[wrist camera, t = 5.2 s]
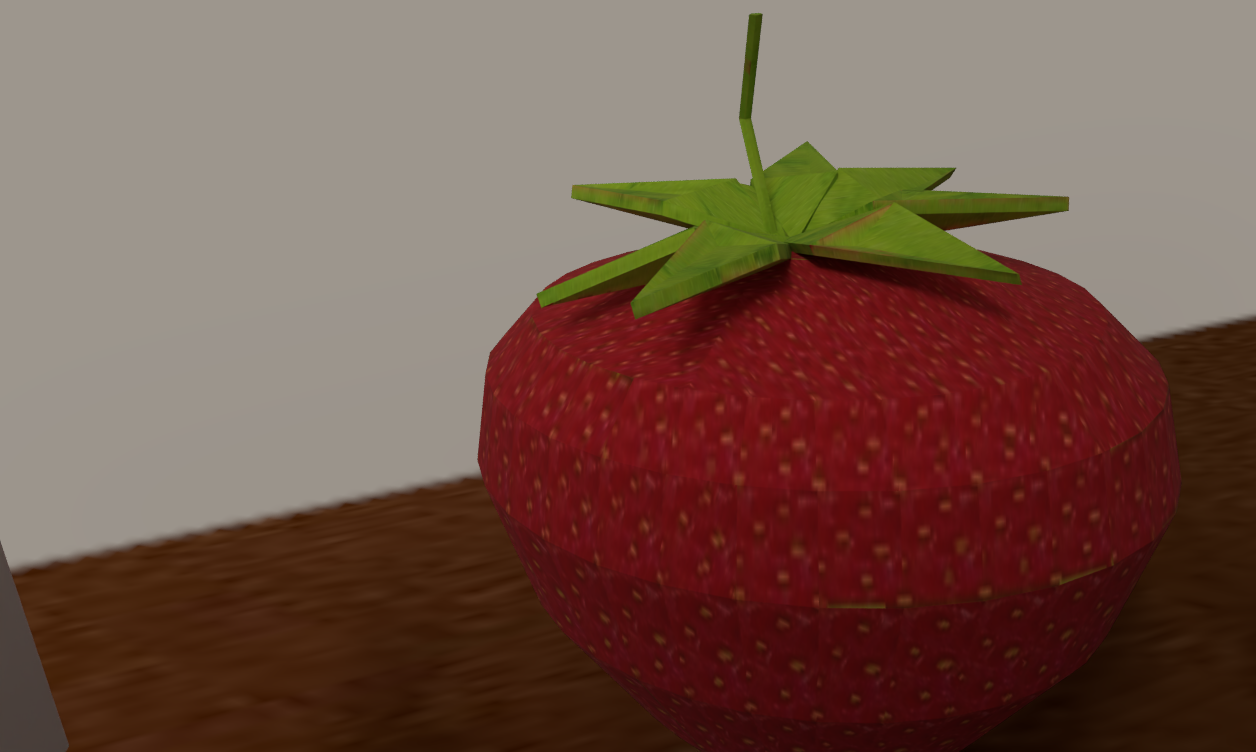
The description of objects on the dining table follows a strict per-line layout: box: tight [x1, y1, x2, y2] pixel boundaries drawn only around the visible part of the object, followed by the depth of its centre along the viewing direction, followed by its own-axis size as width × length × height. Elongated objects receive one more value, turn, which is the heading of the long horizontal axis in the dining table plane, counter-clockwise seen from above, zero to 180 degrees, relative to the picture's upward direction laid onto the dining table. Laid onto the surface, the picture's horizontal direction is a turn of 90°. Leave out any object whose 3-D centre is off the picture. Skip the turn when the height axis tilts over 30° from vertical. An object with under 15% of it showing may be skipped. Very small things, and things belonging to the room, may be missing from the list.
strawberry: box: [478, 13, 1182, 752], centre depth 13 cm, size 6×8×10 cm
